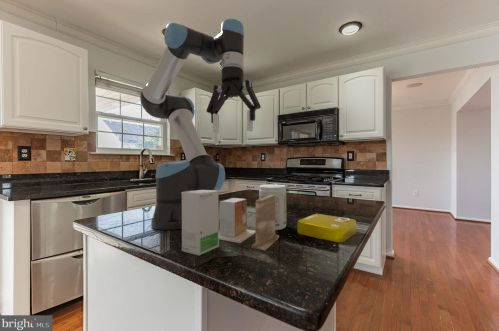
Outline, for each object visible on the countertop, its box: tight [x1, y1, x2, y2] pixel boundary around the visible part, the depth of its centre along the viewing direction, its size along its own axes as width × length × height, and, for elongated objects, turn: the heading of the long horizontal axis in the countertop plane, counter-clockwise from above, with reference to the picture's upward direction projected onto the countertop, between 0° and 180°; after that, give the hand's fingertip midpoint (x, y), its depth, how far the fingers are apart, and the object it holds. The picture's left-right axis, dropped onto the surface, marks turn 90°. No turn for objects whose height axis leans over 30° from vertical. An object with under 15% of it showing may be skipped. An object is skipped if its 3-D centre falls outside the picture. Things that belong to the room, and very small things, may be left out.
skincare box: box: [181, 190, 220, 256], centre depth 64 cm, size 8×7×16 cm
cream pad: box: [219, 228, 256, 244], centre depth 76 cm, size 11×11×1 cm
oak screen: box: [250, 195, 280, 251], centre depth 69 cm, size 4×11×13 cm, turn 154°
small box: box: [219, 197, 248, 237], centre depth 76 cm, size 8×6×10 cm
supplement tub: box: [258, 183, 287, 231], centre depth 85 cm, size 10×10×15 cm
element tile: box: [297, 213, 357, 243], centre depth 79 cm, size 15×15×5 cm
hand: (232, 132), depth 83 cm, fingers open, 13 cm apart
